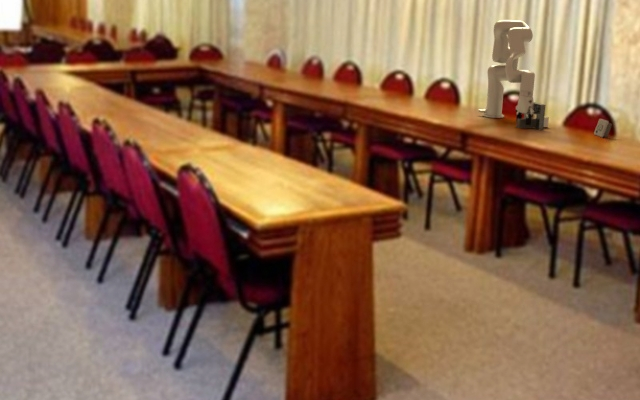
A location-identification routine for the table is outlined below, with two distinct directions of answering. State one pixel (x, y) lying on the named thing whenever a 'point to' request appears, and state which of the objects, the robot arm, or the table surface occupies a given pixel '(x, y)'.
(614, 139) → the table surface
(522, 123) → the plug
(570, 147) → the table surface
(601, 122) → the electrical switch
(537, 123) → the grey arch block
